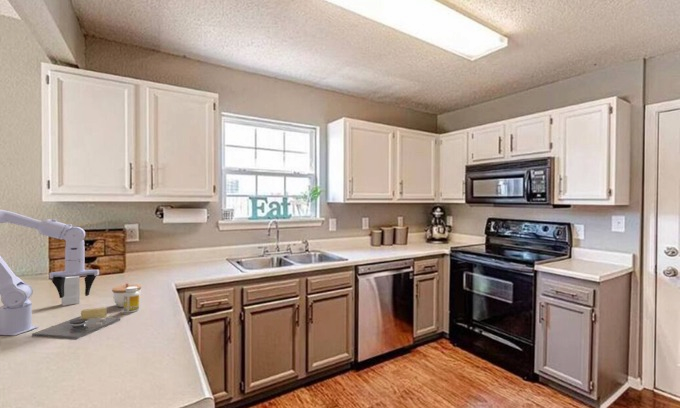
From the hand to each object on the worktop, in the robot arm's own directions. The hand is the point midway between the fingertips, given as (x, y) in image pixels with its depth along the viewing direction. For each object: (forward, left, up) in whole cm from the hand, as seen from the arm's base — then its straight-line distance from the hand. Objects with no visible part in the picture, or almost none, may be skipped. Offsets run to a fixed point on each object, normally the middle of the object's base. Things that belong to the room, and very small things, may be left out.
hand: (74, 296), depth 125 cm
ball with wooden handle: (+8, -3, -8) cm, 12 cm away
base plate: (+6, -4, -10) cm, 12 cm away
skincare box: (-24, +21, -10) cm, 33 cm away
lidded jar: (+2, +23, -10) cm, 25 cm away
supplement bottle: (+10, +16, -10) cm, 21 cm away
